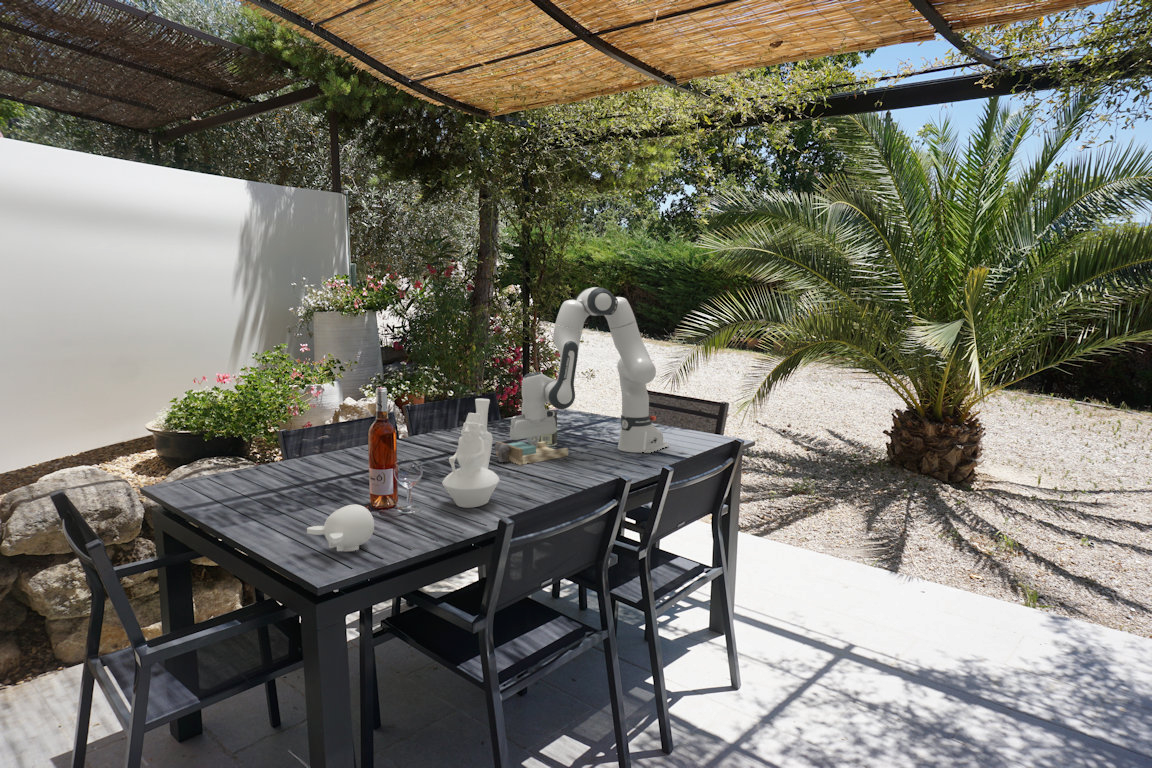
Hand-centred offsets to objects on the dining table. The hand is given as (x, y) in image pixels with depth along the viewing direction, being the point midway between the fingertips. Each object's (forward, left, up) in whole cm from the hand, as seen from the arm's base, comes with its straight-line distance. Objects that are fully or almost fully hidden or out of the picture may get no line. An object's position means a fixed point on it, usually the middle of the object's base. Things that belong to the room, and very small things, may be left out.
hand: (533, 447), depth 284 cm
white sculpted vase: (+49, +36, -4) cm, 61 cm away
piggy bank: (+97, +49, -4) cm, 108 cm away
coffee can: (-16, -14, -4) cm, 22 cm away
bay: (+3, 0, -3) cm, 5 cm away
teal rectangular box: (+6, 0, -2) cm, 6 cm away
